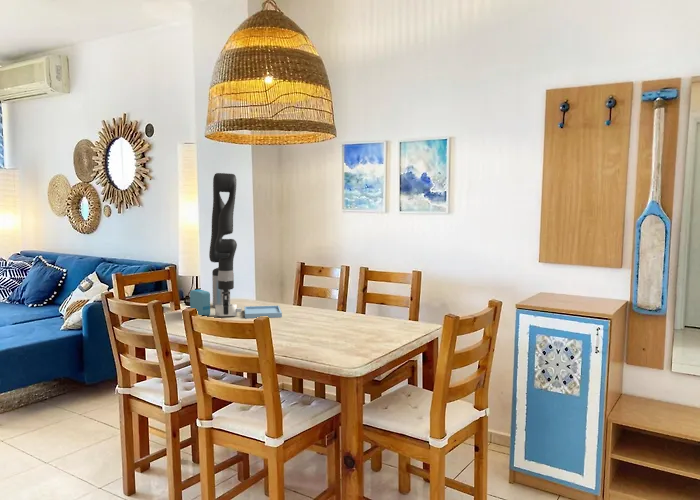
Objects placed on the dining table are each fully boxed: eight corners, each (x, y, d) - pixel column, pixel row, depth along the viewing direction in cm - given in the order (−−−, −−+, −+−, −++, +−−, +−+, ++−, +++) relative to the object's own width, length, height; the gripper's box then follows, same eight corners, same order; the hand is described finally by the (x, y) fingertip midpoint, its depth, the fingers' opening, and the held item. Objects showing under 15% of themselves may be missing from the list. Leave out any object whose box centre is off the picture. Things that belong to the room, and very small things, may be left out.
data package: (210, 315, 271) (210, 292, 269) (202, 317, 267) (202, 293, 266) (198, 311, 279) (197, 288, 278) (190, 313, 276) (189, 289, 275)
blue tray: (244, 310, 284) (244, 306, 283) (279, 309, 287) (279, 305, 287) (245, 318, 266) (245, 313, 266) (281, 317, 270) (281, 312, 269)
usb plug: (215, 316, 266) (215, 306, 265) (215, 314, 270) (215, 304, 270) (241, 315, 269) (241, 305, 268) (241, 313, 273) (241, 303, 272)
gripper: (218, 277, 273) (218, 310, 275) (217, 281, 260) (217, 316, 261) (233, 276, 275) (233, 310, 277) (233, 281, 261) (233, 316, 263)
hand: (226, 313), depth 269 cm, fingers closed on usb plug, 4 cm apart
